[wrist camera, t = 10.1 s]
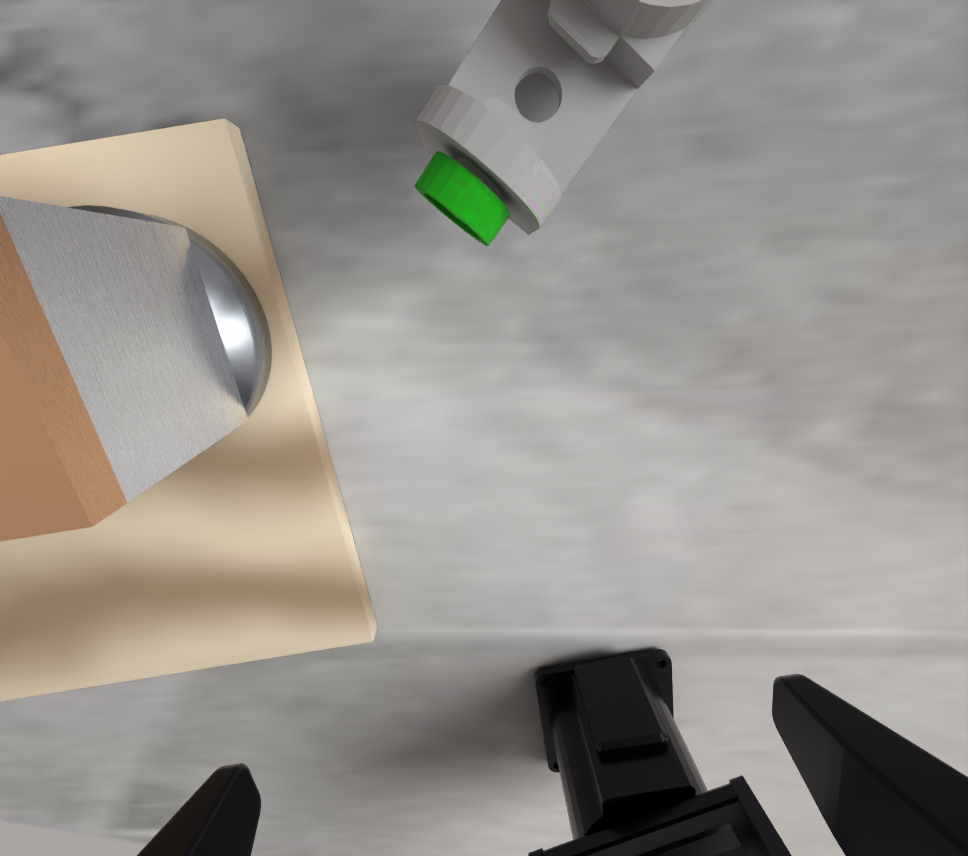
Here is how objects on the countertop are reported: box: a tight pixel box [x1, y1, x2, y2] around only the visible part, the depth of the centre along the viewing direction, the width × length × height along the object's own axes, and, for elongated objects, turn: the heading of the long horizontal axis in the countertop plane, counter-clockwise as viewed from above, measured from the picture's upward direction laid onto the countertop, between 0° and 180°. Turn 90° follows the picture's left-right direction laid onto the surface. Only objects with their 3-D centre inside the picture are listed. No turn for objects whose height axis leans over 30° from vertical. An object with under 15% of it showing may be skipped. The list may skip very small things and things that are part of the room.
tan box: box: [0, 196, 248, 542], centre depth 11 cm, size 6×6×7 cm
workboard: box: [0, 118, 377, 701], centre depth 18 cm, size 20×17×1 cm
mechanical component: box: [415, 0, 718, 246], centre depth 11 cm, size 3×10×10 cm, turn 143°
